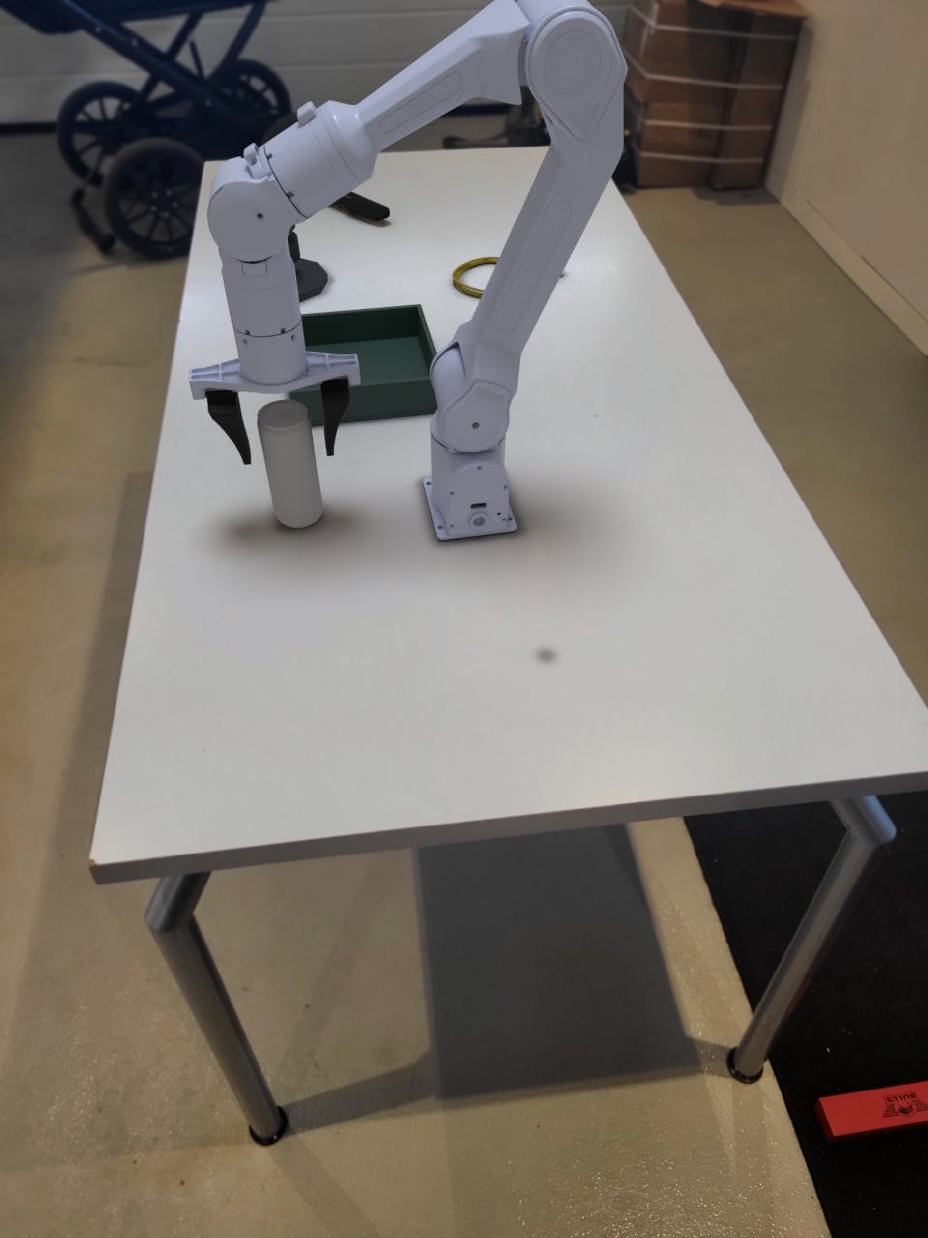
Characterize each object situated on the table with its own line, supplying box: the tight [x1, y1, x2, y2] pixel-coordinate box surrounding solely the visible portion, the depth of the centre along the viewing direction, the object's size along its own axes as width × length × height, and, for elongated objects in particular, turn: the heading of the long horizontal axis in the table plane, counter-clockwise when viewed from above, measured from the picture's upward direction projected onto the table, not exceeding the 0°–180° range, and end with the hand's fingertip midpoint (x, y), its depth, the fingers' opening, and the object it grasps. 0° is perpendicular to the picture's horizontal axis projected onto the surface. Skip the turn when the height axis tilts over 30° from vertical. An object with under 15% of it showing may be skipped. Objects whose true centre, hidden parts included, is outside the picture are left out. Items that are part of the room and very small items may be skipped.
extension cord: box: [452, 256, 500, 298], centre depth 123 cm, size 12×16×2 cm
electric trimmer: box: [331, 191, 391, 222], centre depth 138 cm, size 4×16×3 cm, turn 47°
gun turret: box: [288, 224, 329, 303], centre depth 116 cm, size 13×20×13 cm, turn 9°
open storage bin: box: [288, 303, 438, 427], centre depth 104 cm, size 17×17×4 cm
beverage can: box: [256, 399, 324, 529], centre depth 84 cm, size 5×5×12 cm
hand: (288, 454), depth 83 cm, fingers open, 7 cm apart
